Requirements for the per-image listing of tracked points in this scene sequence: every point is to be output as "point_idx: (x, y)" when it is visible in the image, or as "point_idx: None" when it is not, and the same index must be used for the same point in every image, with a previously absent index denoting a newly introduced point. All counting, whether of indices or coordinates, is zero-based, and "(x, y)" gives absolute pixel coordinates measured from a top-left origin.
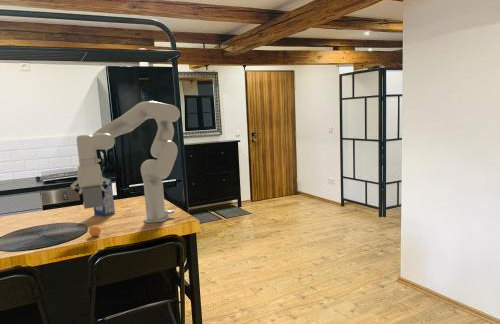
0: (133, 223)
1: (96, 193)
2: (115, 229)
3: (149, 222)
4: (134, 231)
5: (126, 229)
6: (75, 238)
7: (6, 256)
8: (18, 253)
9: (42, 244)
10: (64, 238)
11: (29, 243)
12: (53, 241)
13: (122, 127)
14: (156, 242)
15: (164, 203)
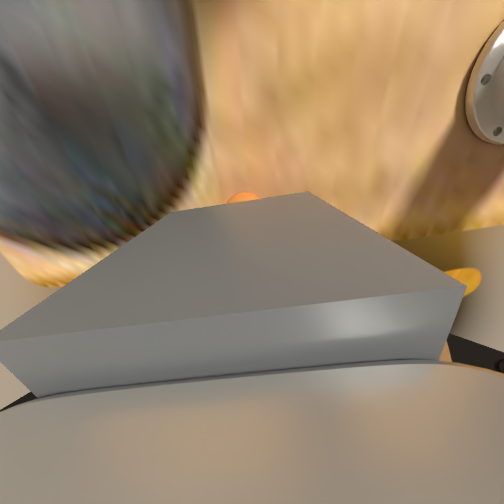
0: (412, 85)
1: None
2: (320, 153)
3: (473, 130)
4: (375, 221)
5: (358, 179)
6: (178, 200)
7: (26, 276)
8: (47, 266)
9: (79, 213)
10: (134, 178)
11: (15, 176)
12: (105, 197)
13: None
14: None
15: None
